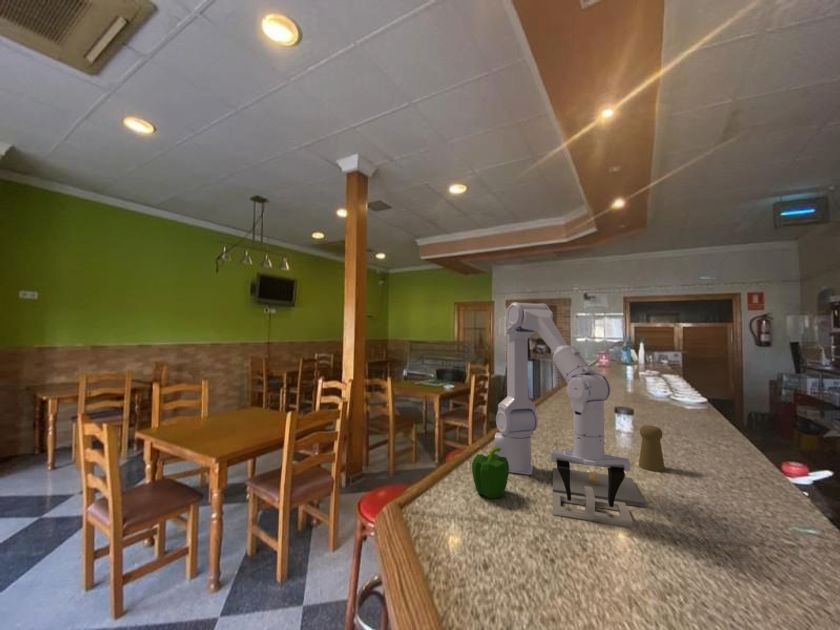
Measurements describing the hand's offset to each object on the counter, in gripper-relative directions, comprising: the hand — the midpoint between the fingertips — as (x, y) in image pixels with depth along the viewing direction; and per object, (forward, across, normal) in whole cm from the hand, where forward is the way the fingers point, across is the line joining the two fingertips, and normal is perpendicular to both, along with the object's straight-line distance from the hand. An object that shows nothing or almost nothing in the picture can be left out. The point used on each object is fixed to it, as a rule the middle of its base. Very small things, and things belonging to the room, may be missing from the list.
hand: (589, 501), depth 75 cm
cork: (+2, +18, +33) cm, 38 cm away
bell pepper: (+2, -20, +1) cm, 20 cm away
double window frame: (+2, 0, 0) cm, 2 cm away
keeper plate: (+2, +2, +13) cm, 13 cm away
